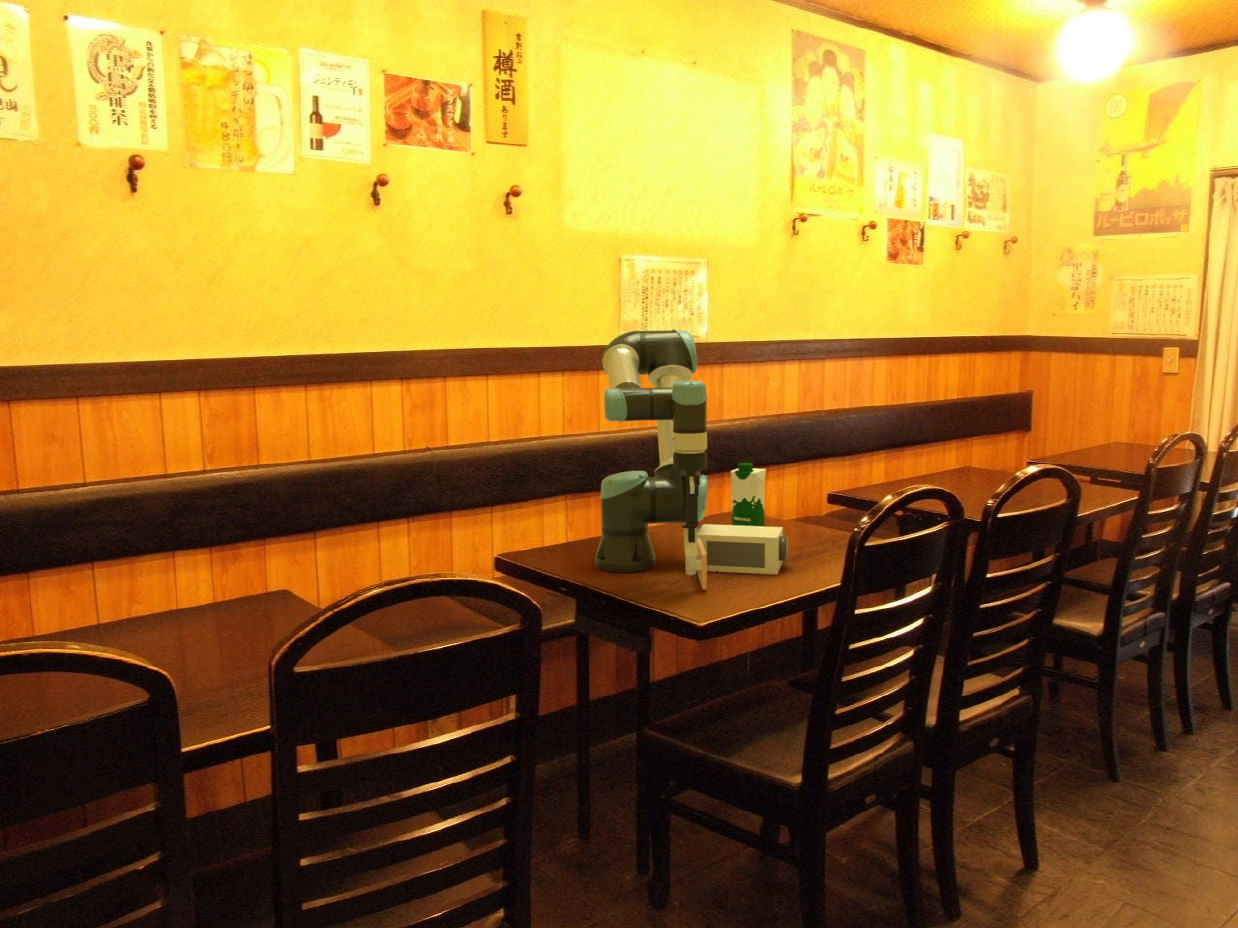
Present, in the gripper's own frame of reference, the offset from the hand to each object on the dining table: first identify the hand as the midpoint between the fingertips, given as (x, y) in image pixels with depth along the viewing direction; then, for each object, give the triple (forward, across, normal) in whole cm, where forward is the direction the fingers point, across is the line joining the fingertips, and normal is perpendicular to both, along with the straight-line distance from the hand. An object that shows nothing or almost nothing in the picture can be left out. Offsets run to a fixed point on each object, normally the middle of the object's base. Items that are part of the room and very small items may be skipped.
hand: (690, 554), depth 221 cm
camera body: (+9, -21, +13) cm, 26 cm away
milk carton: (+9, -60, +21) cm, 64 cm away
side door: (+8, -8, +1) cm, 11 cm away
